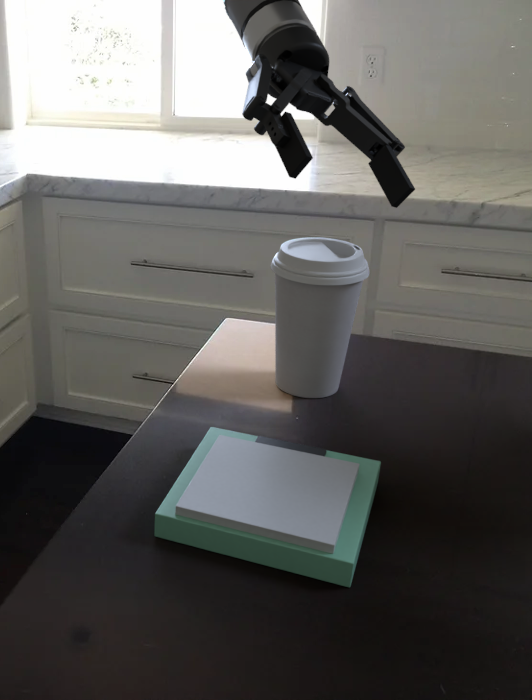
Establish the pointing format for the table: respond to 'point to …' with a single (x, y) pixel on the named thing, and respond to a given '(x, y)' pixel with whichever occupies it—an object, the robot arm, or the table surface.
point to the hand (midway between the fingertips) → (354, 183)
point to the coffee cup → (315, 312)
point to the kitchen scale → (272, 504)
